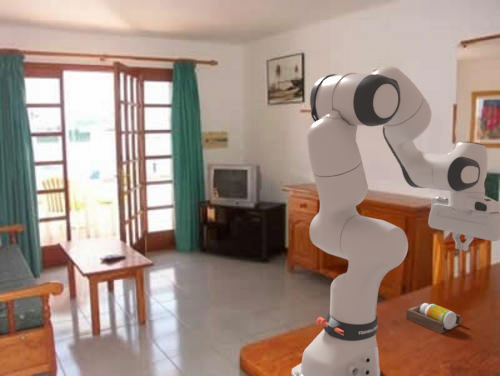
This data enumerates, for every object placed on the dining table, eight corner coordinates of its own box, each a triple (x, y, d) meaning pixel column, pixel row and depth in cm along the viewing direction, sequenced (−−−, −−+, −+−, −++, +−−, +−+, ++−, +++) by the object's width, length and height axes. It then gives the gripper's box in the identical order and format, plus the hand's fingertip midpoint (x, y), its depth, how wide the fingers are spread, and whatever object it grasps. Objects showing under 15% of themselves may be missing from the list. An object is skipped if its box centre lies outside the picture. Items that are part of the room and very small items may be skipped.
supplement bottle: (447, 311, 131) (420, 299, 139) (443, 329, 131) (416, 316, 139) (458, 312, 134) (431, 301, 142) (454, 330, 134) (427, 317, 142)
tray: (441, 333, 131) (441, 323, 131) (406, 318, 141) (406, 309, 141) (460, 324, 137) (461, 315, 136) (425, 311, 147) (426, 302, 146)
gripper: (425, 196, 131) (422, 242, 133) (497, 207, 114) (491, 260, 116) (438, 195, 135) (434, 240, 136) (509, 205, 118) (504, 257, 120)
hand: (461, 249), depth 126 cm, fingers closed
